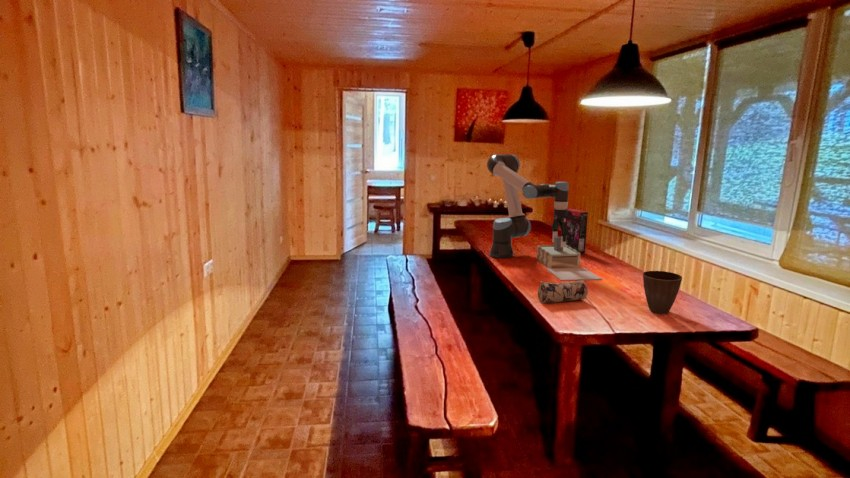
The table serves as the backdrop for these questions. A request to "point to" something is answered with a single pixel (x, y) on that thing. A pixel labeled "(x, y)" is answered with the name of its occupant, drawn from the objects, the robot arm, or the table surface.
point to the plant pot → (661, 290)
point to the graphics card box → (576, 229)
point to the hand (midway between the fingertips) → (558, 244)
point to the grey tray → (573, 274)
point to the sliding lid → (559, 249)
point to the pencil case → (562, 291)
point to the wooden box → (557, 258)
